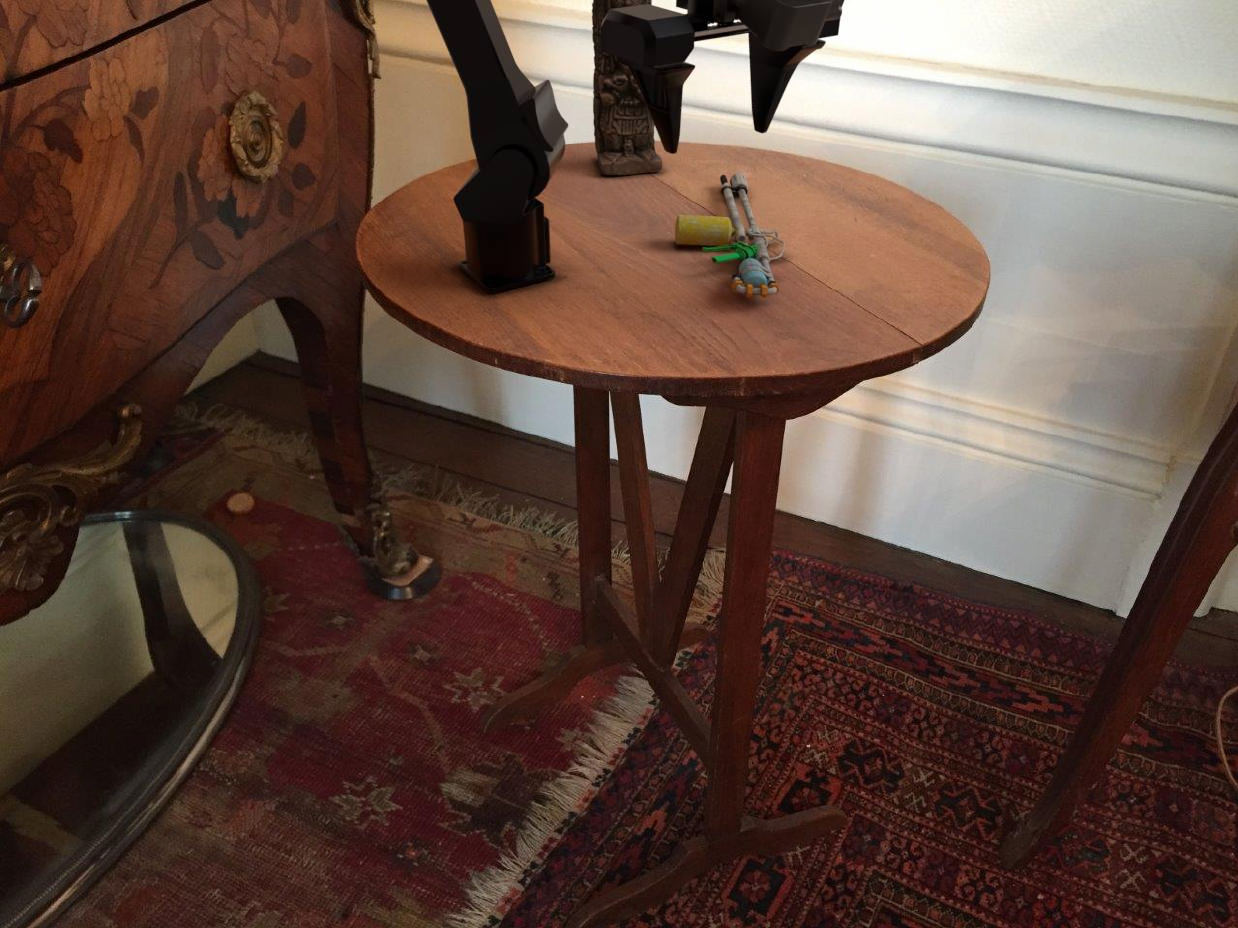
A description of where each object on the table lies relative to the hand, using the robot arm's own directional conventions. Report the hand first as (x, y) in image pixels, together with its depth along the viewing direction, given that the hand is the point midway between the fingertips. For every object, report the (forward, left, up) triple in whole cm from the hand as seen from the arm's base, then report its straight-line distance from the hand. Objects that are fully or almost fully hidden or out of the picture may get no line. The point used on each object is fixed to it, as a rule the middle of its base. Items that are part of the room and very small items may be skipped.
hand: (716, 142), depth 75 cm
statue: (+11, +30, -13) cm, 34 cm away
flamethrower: (+8, +7, -13) cm, 16 cm away
